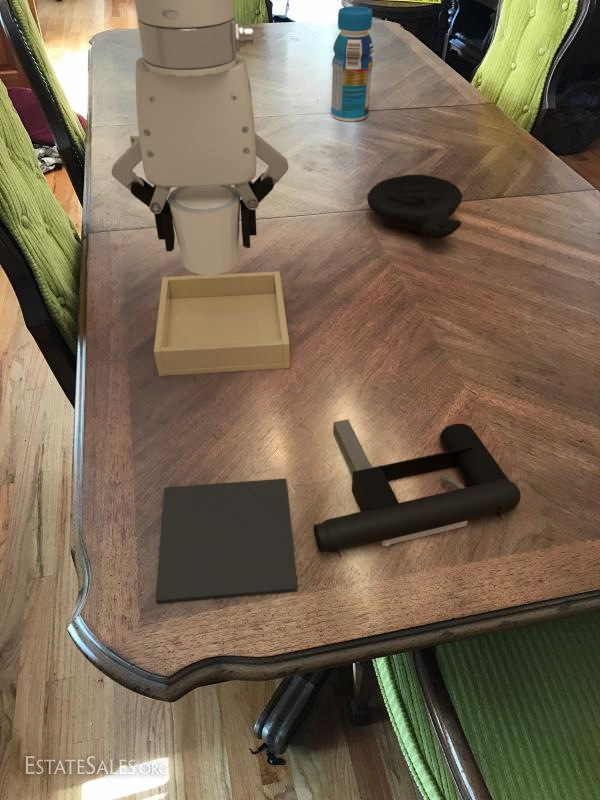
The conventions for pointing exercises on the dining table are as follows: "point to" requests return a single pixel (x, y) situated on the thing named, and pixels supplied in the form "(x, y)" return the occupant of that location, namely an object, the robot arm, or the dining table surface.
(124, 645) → the dining table surface
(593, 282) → the dining table surface
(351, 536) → the door handle
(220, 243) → the shot glass
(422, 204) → the black cap
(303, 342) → the dining table surface
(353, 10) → the beverage bottle
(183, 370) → the caddy
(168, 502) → the mat
